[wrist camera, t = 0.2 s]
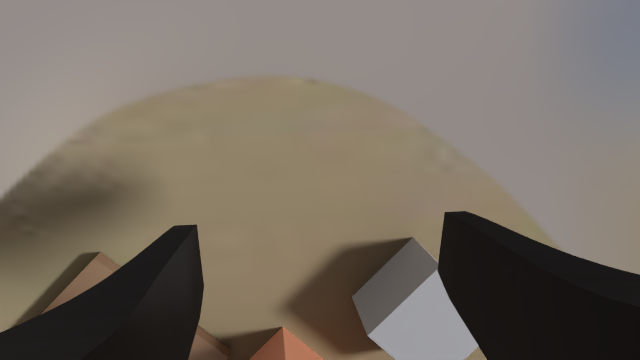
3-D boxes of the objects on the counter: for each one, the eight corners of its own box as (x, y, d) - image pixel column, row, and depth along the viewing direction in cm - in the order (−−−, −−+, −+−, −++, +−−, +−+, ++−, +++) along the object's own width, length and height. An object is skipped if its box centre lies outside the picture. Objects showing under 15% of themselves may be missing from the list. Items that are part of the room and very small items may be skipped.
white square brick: (406, 343, 26) (431, 390, 22) (351, 295, 25) (367, 335, 21) (465, 288, 26) (501, 325, 22) (412, 236, 24) (440, 265, 21)
